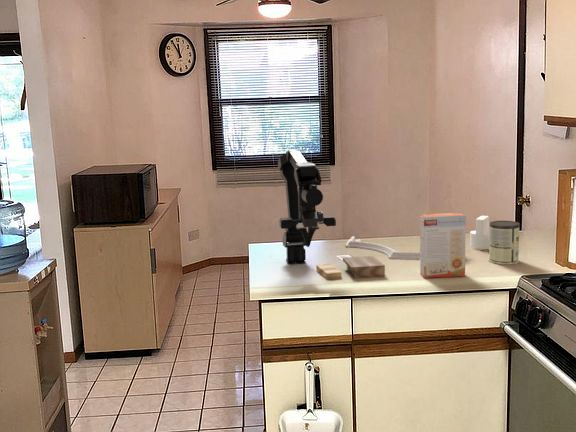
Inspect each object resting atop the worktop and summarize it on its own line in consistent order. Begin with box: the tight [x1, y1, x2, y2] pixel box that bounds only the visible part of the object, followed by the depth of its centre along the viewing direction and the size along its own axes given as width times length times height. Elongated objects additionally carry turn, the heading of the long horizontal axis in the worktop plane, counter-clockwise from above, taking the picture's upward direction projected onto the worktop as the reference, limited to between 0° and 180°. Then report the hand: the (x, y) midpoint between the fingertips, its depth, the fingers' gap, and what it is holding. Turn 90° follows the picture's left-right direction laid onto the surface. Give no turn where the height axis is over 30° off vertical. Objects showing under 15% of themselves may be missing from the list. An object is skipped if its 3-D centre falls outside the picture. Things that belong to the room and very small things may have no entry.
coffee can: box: [488, 220, 521, 265], centre depth 221 cm, size 10×10×14 cm
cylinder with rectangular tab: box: [469, 215, 490, 250], centre depth 244 cm, size 9×9×12 cm
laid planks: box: [342, 255, 386, 279], centre depth 213 cm, size 12×14×4 cm
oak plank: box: [316, 263, 342, 280], centre depth 212 cm, size 12×5×2 cm, turn 15°
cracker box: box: [419, 212, 467, 279], centre depth 205 cm, size 14×6×21 cm, turn 92°
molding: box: [345, 235, 420, 260], centre depth 245 cm, size 42×12×3 cm, turn 33°
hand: (308, 246), depth 210 cm, fingers closed
